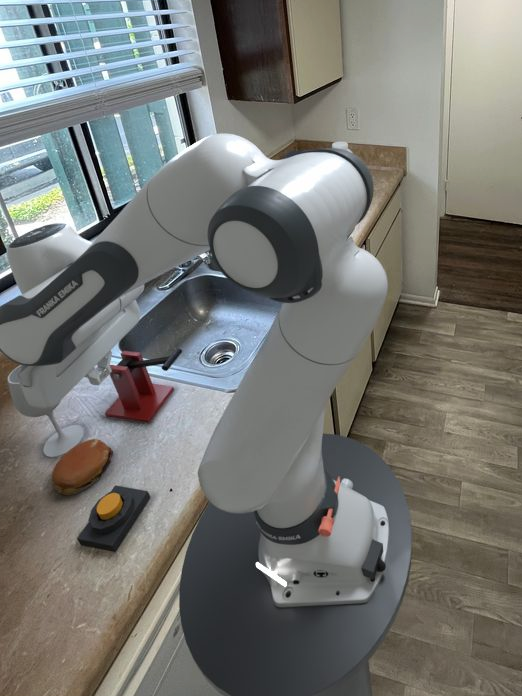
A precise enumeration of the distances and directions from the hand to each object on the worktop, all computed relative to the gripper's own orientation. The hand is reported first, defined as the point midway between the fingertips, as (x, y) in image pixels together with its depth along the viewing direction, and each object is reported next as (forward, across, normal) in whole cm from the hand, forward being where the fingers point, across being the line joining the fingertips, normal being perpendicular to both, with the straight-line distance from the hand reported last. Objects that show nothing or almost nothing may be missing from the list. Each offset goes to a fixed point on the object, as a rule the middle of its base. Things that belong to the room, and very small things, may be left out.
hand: (101, 378), depth 76 cm
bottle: (+27, +120, -8) cm, 123 cm away
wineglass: (+27, +4, +22) cm, 35 cm away
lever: (+14, +15, +6) cm, 21 cm away
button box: (+27, -8, -1) cm, 28 cm away
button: (+23, -8, -1) cm, 25 cm away
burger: (+27, -1, +12) cm, 30 cm away
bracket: (+27, +15, +12) cm, 33 cm away
